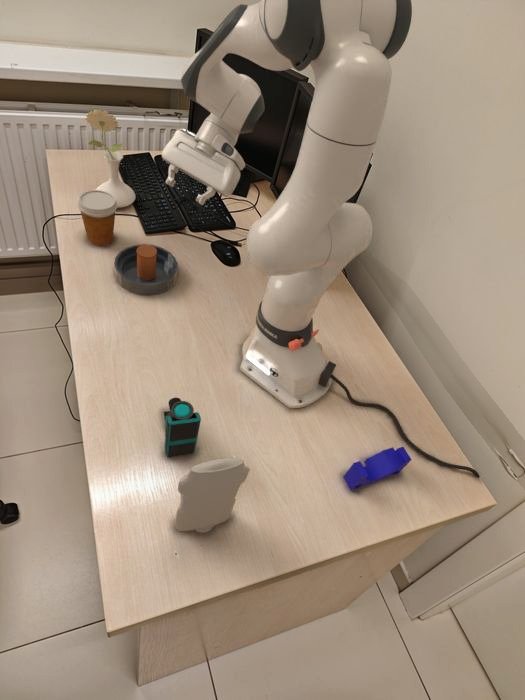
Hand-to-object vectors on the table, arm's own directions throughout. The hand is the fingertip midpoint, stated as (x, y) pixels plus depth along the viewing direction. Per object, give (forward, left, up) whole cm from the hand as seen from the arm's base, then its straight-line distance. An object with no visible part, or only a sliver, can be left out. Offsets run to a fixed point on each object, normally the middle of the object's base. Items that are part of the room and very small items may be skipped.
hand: (183, 194), depth 112 cm
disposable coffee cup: (+15, +15, -19) cm, 28 cm away
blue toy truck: (-74, +4, -19) cm, 77 cm away
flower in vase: (+30, +3, -19) cm, 35 cm away
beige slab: (-62, +37, -19) cm, 75 cm away
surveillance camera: (-45, +31, -19) cm, 58 cm away
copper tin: (-3, +12, -18) cm, 22 cm away
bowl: (-3, +12, -19) cm, 22 cm away
